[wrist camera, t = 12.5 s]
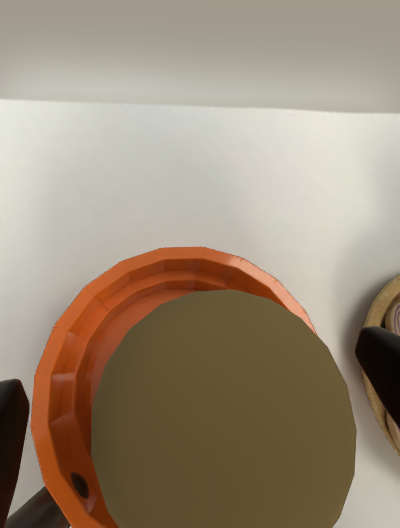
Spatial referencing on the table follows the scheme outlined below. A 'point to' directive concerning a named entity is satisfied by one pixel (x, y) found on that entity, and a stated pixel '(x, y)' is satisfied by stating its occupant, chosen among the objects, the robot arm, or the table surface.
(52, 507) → the pan handle
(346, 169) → the table surface
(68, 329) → the pan
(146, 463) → the cork
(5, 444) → the robot arm
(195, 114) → the table surface
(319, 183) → the table surface
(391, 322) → the toy sandwich meal
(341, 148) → the table surface
